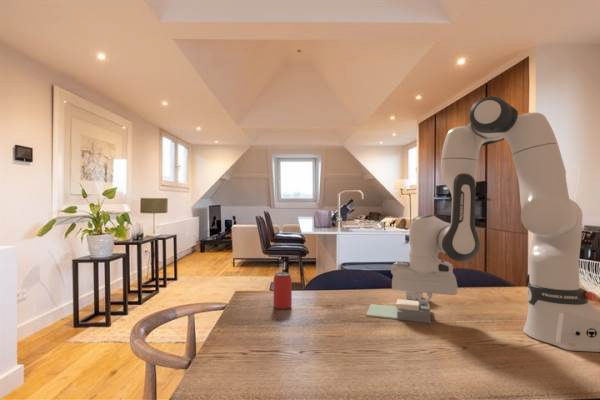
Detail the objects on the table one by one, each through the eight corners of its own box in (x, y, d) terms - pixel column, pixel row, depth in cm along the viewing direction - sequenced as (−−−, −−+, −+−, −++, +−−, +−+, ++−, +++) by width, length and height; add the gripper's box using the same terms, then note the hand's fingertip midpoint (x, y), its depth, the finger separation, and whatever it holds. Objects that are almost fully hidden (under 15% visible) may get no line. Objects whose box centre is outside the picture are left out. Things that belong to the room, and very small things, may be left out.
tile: (418, 305, 111) (418, 300, 111) (418, 310, 106) (418, 306, 106) (397, 303, 114) (397, 299, 114) (396, 308, 108) (396, 304, 108)
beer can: (292, 304, 121) (292, 272, 121) (290, 310, 115) (290, 276, 115) (275, 304, 122) (275, 271, 122) (272, 309, 115) (271, 275, 116)
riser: (429, 311, 113) (429, 303, 113) (430, 323, 101) (430, 315, 101) (399, 308, 116) (399, 301, 116) (397, 319, 105) (397, 311, 105)
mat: (399, 308, 116) (399, 306, 116) (397, 319, 105) (397, 317, 105) (370, 305, 120) (370, 303, 120) (365, 316, 108) (365, 314, 108)
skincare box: (416, 300, 125) (415, 269, 125) (405, 298, 128) (404, 267, 128) (423, 297, 129) (423, 266, 129) (412, 295, 132) (412, 265, 132)
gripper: (390, 263, 108) (390, 305, 108) (458, 267, 102) (458, 312, 101) (391, 260, 114) (391, 300, 114) (455, 263, 108) (456, 305, 107)
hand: (423, 305), depth 108 cm, fingers closed
